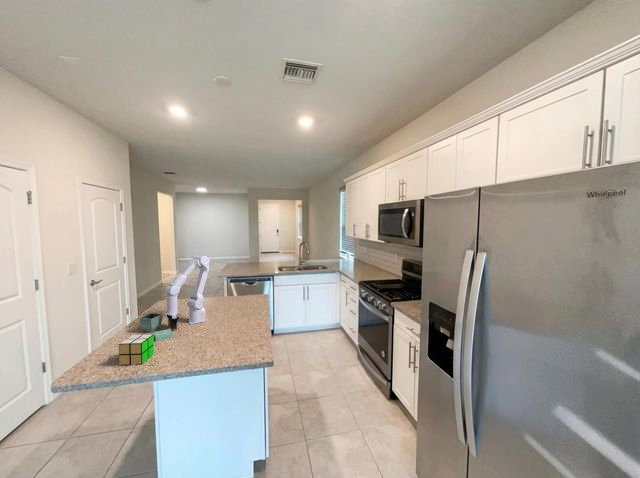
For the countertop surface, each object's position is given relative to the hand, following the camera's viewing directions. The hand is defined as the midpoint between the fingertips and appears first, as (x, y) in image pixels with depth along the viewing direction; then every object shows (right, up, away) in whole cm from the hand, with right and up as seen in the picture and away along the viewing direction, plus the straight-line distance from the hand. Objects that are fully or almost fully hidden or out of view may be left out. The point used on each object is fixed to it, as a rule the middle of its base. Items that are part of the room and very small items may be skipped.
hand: (172, 326), depth 157 cm
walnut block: (0, -2, 0) cm, 2 cm away
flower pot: (-11, -2, -2) cm, 12 cm away
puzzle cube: (+4, -3, -36) cm, 36 cm away
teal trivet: (+1, -2, -11) cm, 12 cm away
